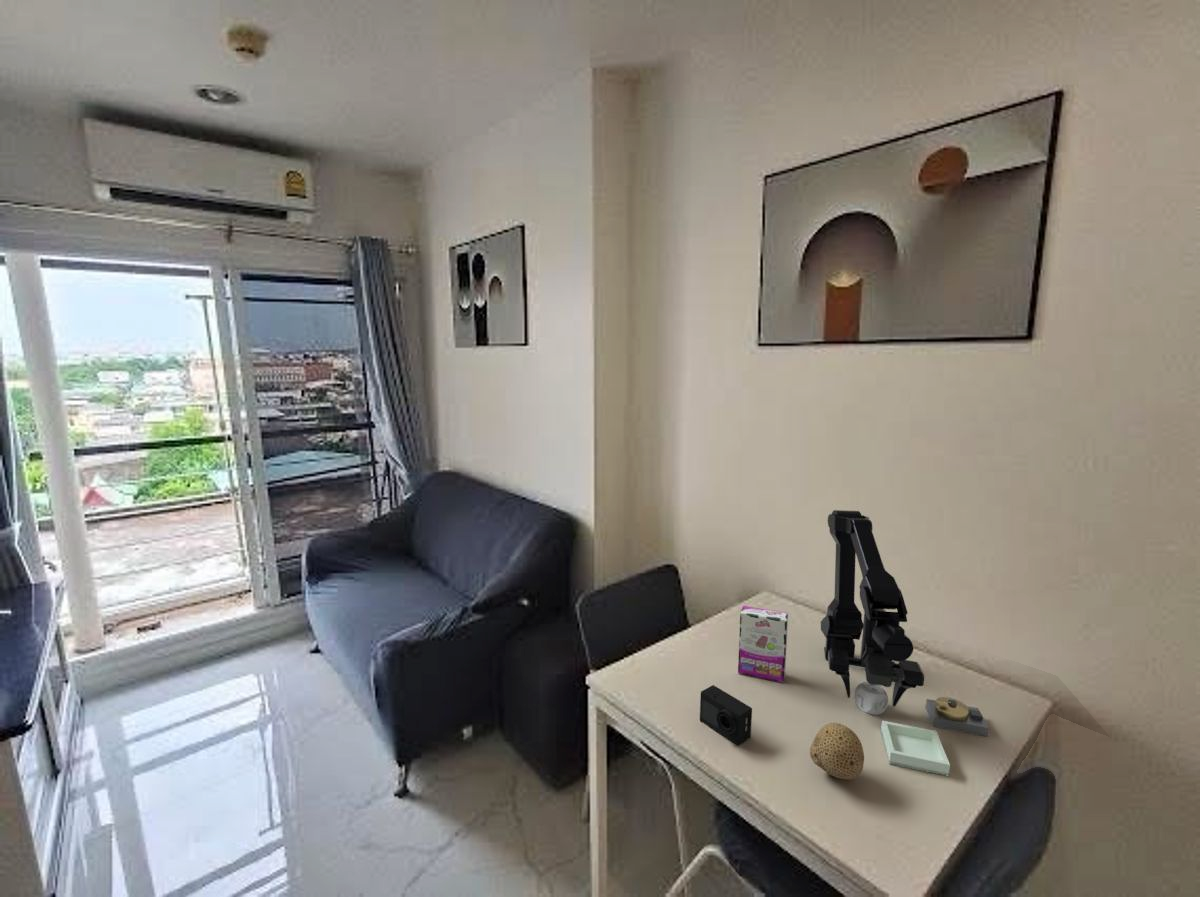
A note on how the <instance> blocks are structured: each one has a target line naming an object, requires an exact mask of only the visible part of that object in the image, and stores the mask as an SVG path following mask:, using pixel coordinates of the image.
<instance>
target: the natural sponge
mask: <svg viewBox="0 0 1200 897" xmlns="http://www.w3.org/2000/svg"><path fill="white" fill-rule="evenodd" d="M809 755H810V758H811V761H812V762H813V764H815V765H816V766H817V767H818V768H820V769H821V770H823V771H825V773H826V774H829V775H830V776H832V777H833V778H838V779H841V780H842V779H843V780H854V779H857V778H858V777H859V776H860V775H861V774H862V773H863V771H864V762H865V754H864V749H863V745H862V742H861V740H860V738H859V736H858V735H856V733H855V731H853V729H851V728H850V727H848V726H847V725H844V724H841V723H838V722H830V723H827V724H825V725H823V727H821V728H820V729H819V730H818V731H817V733H816V735H815V737H814V739H813V741H812V743H811V746H810V748H809Z"/></svg>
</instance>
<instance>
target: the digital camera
mask: <svg viewBox="0 0 1200 897" xmlns="http://www.w3.org/2000/svg"><path fill="white" fill-rule="evenodd" d="M699 699H700V704H699V705H700V707H699V721H700V722H701V723H703V724H704V725H705V726H707V727H708V728H710V729H712V730H713V731H714V732H716V733H717V734H719V735H720V736H722V737H723V738H725V739H726V740H728V741H729V742H731V743H732V744H733V745H735V746H736V747H739V746H741V745H742V744H744V743H745V742H746V741H748V740H750V739H751V736H752V718H753V708H752V707H751V706H749V705H747V704H746V703H744V702H742V701H741V700H739V699H738V698H736V697H734V696H733V695H731V694H729V693H728V692H726V691H725V690H722V689H721V688H720V687H717V686H715V685H714V684H713V685H710V686H709V687H707V688H705V689H703V690H701V691H700V697H699Z"/></svg>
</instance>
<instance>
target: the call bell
mask: <svg viewBox="0 0 1200 897" xmlns="http://www.w3.org/2000/svg"><path fill="white" fill-rule="evenodd" d="M925 709H926V711H927V713H928V716H929V718H930V721H931V723H932V726H933V727H936V728H941V729H946V730H949V731H950V730H952V731H957V732H963V733H967V734H972V735H978V736H982V737H989V734H990V727H989V725H988V723H987V721H986V720H985V717H984V716H983V714H982V713H981V711H980V709H979V708H978V707H974V706H973V707H972V706H969V705H966V704H965V703H964V702H962V701H960V700H958V699H956V698H954V697H953V698H952V697H949V696H939V697H937V698H936V700H935V699H930V698H926V702H925Z"/></svg>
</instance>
